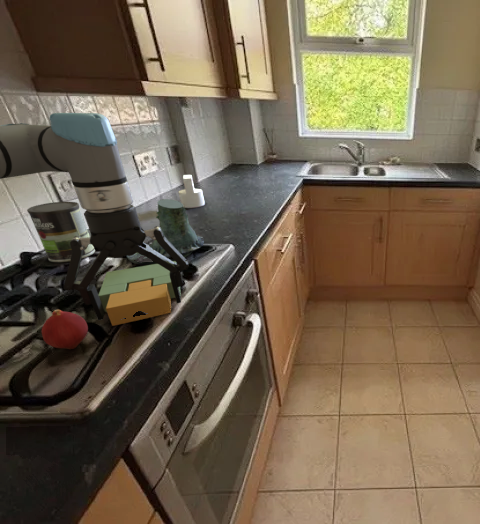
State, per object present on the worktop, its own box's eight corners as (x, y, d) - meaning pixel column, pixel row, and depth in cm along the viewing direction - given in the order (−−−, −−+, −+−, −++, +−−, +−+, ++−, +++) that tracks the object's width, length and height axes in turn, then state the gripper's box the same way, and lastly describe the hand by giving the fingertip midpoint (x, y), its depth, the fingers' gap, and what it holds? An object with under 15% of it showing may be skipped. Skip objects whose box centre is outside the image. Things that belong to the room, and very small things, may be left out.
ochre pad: (112, 326, 64) (105, 308, 62) (118, 302, 71) (112, 286, 70) (171, 312, 68) (166, 296, 67) (170, 292, 76) (166, 276, 74)
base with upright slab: (205, 206, 140) (199, 177, 135) (181, 208, 137) (174, 179, 131) (204, 201, 147) (199, 174, 142) (181, 203, 144) (175, 175, 139)
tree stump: (158, 240, 106) (159, 185, 99) (217, 258, 105) (222, 205, 98) (109, 261, 89) (106, 197, 82) (179, 283, 88) (181, 221, 81)
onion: (50, 347, 58) (31, 308, 55) (91, 333, 62) (75, 296, 58) (53, 364, 54) (33, 324, 51) (96, 348, 58) (80, 309, 55)
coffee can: (68, 264, 88) (47, 213, 82) (38, 260, 90) (16, 209, 84) (104, 249, 97) (88, 202, 91) (77, 246, 99) (59, 200, 93)
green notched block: (104, 312, 68) (97, 296, 66) (111, 287, 77) (106, 272, 76) (180, 296, 74) (176, 281, 73) (179, 274, 84) (175, 260, 82)
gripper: (6, 222, 51) (59, 335, 60) (187, 204, 62) (209, 301, 71) (23, 210, 56) (69, 314, 66) (186, 195, 68) (206, 286, 77)
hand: (142, 308), depth 68 cm, fingers open, 13 cm apart
